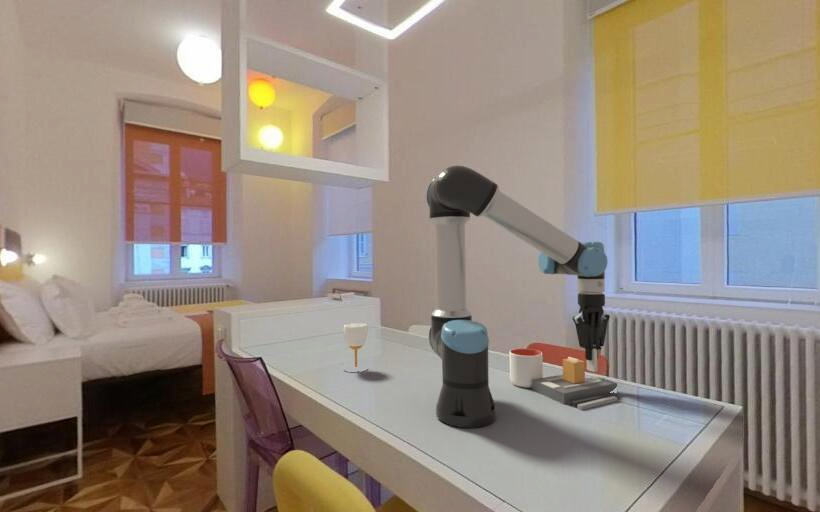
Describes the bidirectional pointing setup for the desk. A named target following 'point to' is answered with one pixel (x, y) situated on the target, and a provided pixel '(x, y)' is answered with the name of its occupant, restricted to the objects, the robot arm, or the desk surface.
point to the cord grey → (596, 402)
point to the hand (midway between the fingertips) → (592, 370)
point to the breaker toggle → (573, 370)
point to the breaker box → (572, 388)
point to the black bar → (592, 399)
